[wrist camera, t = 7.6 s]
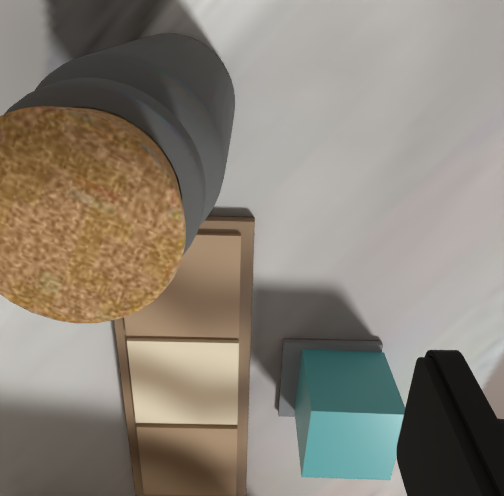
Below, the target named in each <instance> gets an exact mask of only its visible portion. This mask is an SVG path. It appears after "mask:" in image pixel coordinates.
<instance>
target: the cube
mask: <svg viewBox="0 0 504 496" xmlns="http://www.w3.org/2000/svg"><path fill="white" fill-rule="evenodd" d="M404 412H405V407H404V404H403V401H402V399H401V396H400V393H399V391H398V388H397V386H396V383H395V380H394V378H393V375H392V373H391V370H390V367H389V365H388V362H387V360H386V357H385V354H384V353H383V352H359V351H335V350H311V349H302V354H301V362H300V370H299V378H298V386H297V394H296V402H295V419H296V429H297V438H298V447H299V456H300V466H301V475H302V477H315V478H344V479H372V480H390V479H391V475H392V471H393V467H394V464H395V460H396V456H397V452H396V451H397V442H398V438H399V434H400V430H401V425H402V421H403V417H404Z"/></svg>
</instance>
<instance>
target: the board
mask: <svg viewBox="0 0 504 496" xmlns="http://www.w3.org/2000/svg"><path fill="white" fill-rule="evenodd" d="M254 224H255V217H219V216H207V218H206V219H205V220H204V222H203V223H202V224H201V225H200V227H199V229H198V232H197V234H196V236H195V238H194V240H193V242H192V244H191V246H190V247H189V248H188V250H187V251H186V252H185V254H184V255H183V257H182V260H181V263H180V266H179V268H178V270H177V272H176V275H175V277H174V278H173V280H172V281H171V282H170V284H169V285H168V286H167V287H166V289H165V290H164V291H163V292H162V293H161V294H160V295H159V296H158V297H157V298H156V299H155V300H154V301H153V302H152V303H150V304H148V305H147V306H145V307H144V308H142V309H141V310H139V311H138V312H135V313H133V314H131V315H128V316H126V317H123V318H120V319H115V320H114V325H115V333H116V341H117V349H118V357H119V365H120V374H121V382H122V390H123V398H124V406H125V414H126V422H127V430H128V438H129V446H130V454H131V463H132V471H133V479H134V487H135V495H136V496H246V473H247V441H248V410H249V379H250V348H251V317H252V286H253V255H254Z"/></svg>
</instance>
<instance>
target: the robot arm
mask: <svg viewBox="0 0 504 496" xmlns="http://www.w3.org/2000/svg"><path fill="white" fill-rule="evenodd" d="M396 452H397V461H398V466H399V469H400V472H401V476H402V479H403V483H404V486H405V489H406V493H407V496H504V419H497V417H496V415H495V413H494V412H493V410H492V408H491V406H490V405H489V403H488V401H487V399H486V397H485V395H484V393H483V392H482V390H481V388H480V386H479V384H478V382H477V381H476V379H475V377H474V375H473V373H472V371H471V370H470V368H469V366H468V364H467V362H466V361H465V359H464V357H463V355H462V354H461V353H460V352H459V351H458V350H428V351H427V353H426V355H425V357H420V358H418V359H417V361H416V365H415V369H414V374H413V378H412V382H411V387H410V391H409V395H408V399H407V404H406V408H405V412H404V417H403V421H402V425H401V430H400V434H399V438H398V442H397V451H396Z"/></svg>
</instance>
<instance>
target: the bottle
mask: <svg viewBox="0 0 504 496" xmlns="http://www.w3.org/2000/svg"><path fill="white" fill-rule="evenodd" d="M234 109H235V95H234V89H233V85H232V81H231V78H230V76H229V73H228V71H227V69H226V68H225V66H224V64H223V63H222V61H221V60H220V59H219V58H218V56H217V55H216V54H215V53H214V52H213V51H212V50H210V49H209V48H208V47H207V46H206V45H204V44H202V43H200V42H199V41H197V40H195V39H193V38H190V37H187V36H183V35H179V34H159V35H154V36H149V37H144V38H141V39H137V40H134V41H131V42H127V43H124V44H120V45H117V46H113V47H110V48H107V49H103V50H100V51H97V52H94V53H90V54H87V55H84V56H81V57H79V58H76V59H74V60H72V61H70V62H68V63H65V64H63V65H62V66H60V67H59V68H57V69H56V70H55V71H53V72H52V73H50V74H49V75H48V76H47V77H46V78H45V79H44V80H42V81H41V83H40V84H39V85H38V87H37V88H36V89H35V91H33V92H31V93H29V94H27V95H26V96H25V97H23V98H22V99H21V100H19V101H18V102H17V103H16V104H14V105H13V106H12V107H10V108H9V109H8V110H7V112H6V113H5V114H4V115H2V116H0V294H1V295H2V296H4V297H5V298H6V299H8V300H9V301H11V302H13V303H14V304H16V305H18V306H20V307H22V308H24V309H26V310H28V311H30V312H32V313H35V314H38V315H41V316H45V317H48V318H51V319H54V320H59V321H63V322H71V323H100V322H105V321H110V320H115V319H120V318H123V317H126V316H128V315H131V314H133V313H135V312H138V311H139V310H141V309H142V308H144V307H145V306H147V305H148V304H150V303H152V302H153V301H154V300H155V299H156V298H157V297H158V296H159V295H160V294H161V293H162V292H163V291H164V290H165V289H166V287H167V286H168V285H169V284H170V282H171V281H172V280H173V278H174V277H175V275H176V272H177V270H178V268H179V266H180V263H181V260H182V257H183V255H184V254H185V252H186V251H187V250H188V248H189V247H190V246H191V244H192V242H193V240H194V238H195V236H196V234H197V232H198V229H199V227H200V225H201V224H202V223H203V222H204V220H205V219H206V218H207V216H208V215H209V213H210V212H211V210H212V209H213V207H214V205H215V203H216V201H217V198H218V196H219V193H220V190H221V186H222V182H223V179H224V174H225V168H226V162H227V156H228V150H229V144H230V138H231V132H232V125H233V118H234Z"/></svg>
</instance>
